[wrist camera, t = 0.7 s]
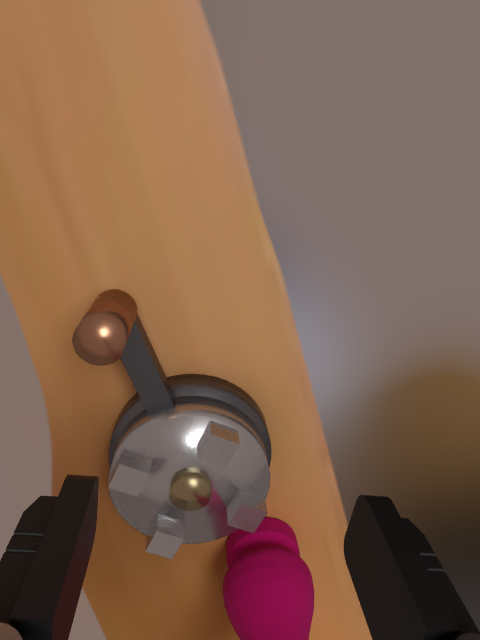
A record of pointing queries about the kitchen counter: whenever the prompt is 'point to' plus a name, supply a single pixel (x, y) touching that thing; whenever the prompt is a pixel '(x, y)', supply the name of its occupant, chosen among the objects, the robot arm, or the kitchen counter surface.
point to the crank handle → (174, 444)
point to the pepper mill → (268, 584)
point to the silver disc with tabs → (197, 387)
